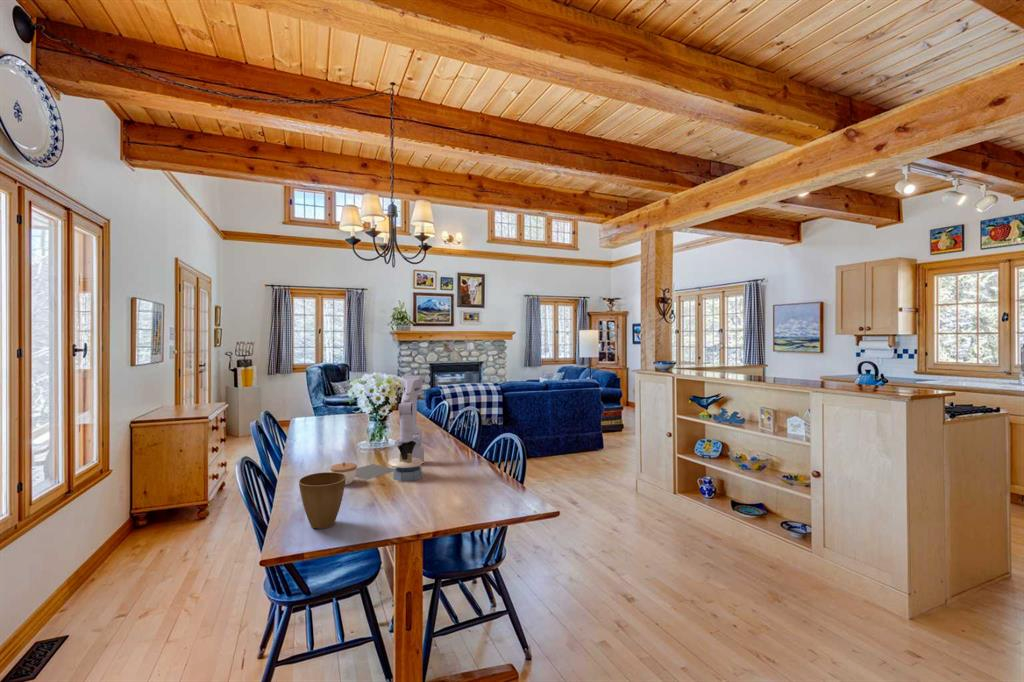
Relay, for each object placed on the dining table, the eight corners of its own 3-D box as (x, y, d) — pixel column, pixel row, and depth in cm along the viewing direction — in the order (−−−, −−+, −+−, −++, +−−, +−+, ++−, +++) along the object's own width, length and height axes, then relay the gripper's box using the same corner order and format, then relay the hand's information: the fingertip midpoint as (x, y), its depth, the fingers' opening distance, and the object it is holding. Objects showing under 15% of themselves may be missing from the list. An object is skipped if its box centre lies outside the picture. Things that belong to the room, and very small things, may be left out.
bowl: (408, 472, 226) (408, 464, 226) (427, 476, 219) (427, 468, 219) (388, 478, 216) (388, 470, 216) (407, 483, 209) (407, 474, 209)
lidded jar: (361, 480, 213) (360, 459, 213) (350, 488, 203) (350, 466, 202) (337, 479, 214) (337, 458, 214) (326, 487, 204) (325, 465, 204)
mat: (372, 464, 239) (372, 463, 239) (397, 470, 229) (397, 469, 229) (341, 473, 224) (341, 472, 224) (366, 480, 214) (366, 479, 214)
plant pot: (289, 532, 158) (289, 483, 158) (315, 515, 173) (315, 470, 172) (331, 535, 155) (330, 486, 155) (354, 518, 170) (354, 473, 170)
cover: (402, 456, 228) (402, 447, 228) (428, 461, 222) (429, 452, 222) (381, 464, 214) (381, 455, 214) (409, 469, 208) (409, 460, 208)
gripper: (408, 425, 226) (409, 454, 226) (388, 431, 213) (389, 461, 213) (421, 426, 223) (421, 455, 223) (401, 432, 210) (402, 463, 210)
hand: (406, 458), depth 218 cm, fingers closed on cover, 2 cm apart
